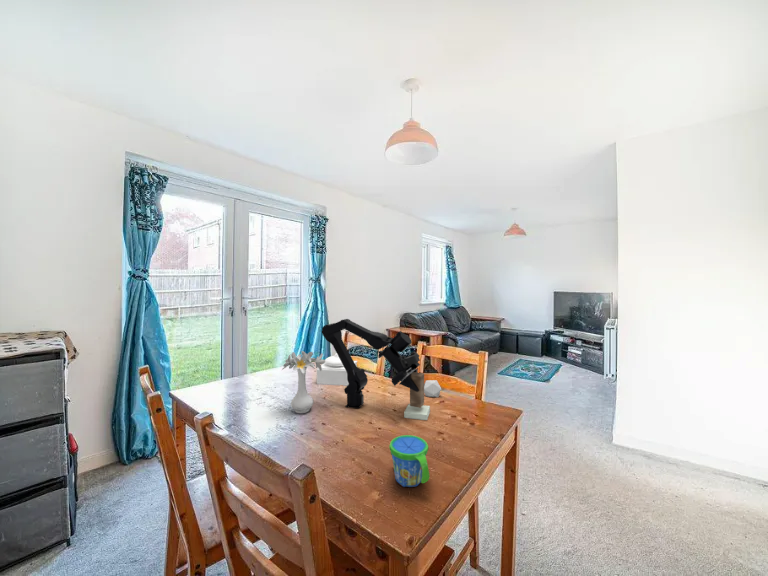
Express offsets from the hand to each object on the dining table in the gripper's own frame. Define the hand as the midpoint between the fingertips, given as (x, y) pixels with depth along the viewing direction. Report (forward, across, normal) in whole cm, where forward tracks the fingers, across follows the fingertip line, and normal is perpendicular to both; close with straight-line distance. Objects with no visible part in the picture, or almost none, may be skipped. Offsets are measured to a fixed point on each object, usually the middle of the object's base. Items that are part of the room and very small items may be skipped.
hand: (420, 389), depth 127 cm
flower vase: (-26, -14, +42) cm, 52 cm away
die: (+7, +23, +10) cm, 26 cm away
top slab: (+6, 0, +8) cm, 10 cm away
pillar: (+4, 0, +6) cm, 7 cm away
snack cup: (+15, -39, +1) cm, 42 cm away
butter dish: (-32, +27, +49) cm, 64 cm away
